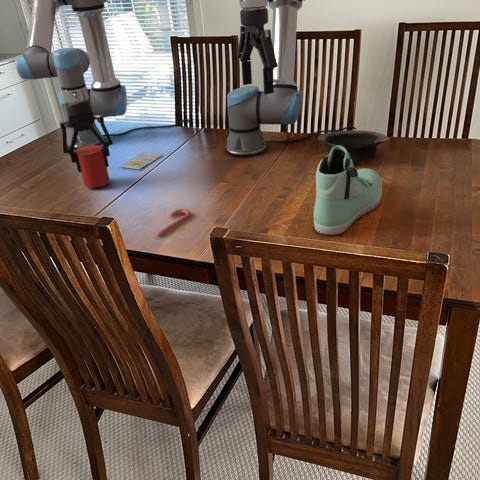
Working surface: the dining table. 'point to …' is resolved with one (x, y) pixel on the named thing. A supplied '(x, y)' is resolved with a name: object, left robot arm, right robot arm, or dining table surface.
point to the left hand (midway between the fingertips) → (93, 168)
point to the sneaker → (343, 192)
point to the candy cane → (177, 222)
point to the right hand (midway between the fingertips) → (257, 88)
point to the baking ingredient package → (141, 161)
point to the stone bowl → (354, 143)
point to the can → (92, 166)
